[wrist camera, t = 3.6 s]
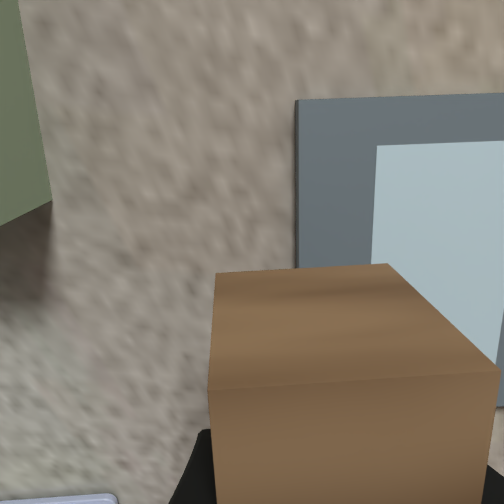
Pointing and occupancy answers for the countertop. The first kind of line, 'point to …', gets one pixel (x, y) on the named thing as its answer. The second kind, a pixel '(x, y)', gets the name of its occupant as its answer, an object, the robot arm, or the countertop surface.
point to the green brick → (18, 124)
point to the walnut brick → (344, 391)
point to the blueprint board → (410, 199)
